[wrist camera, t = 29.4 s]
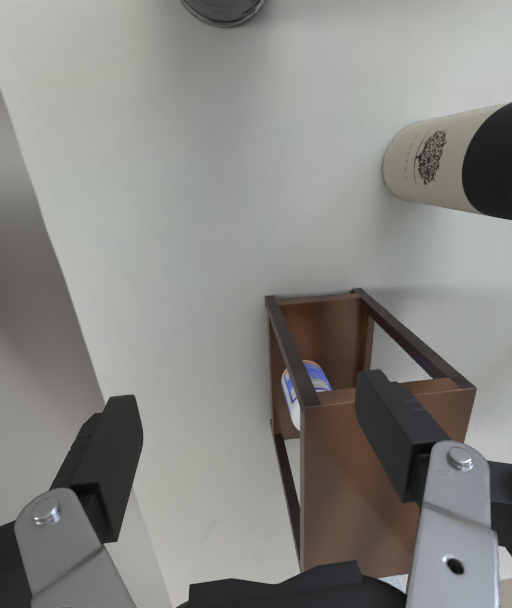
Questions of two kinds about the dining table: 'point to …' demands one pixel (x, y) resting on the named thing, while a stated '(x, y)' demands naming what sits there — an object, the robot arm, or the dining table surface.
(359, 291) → the shelf
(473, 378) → the dining table surface
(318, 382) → the pill bottle
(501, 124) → the travel mug
